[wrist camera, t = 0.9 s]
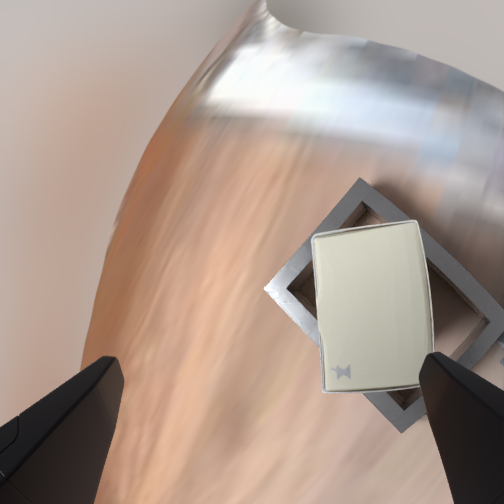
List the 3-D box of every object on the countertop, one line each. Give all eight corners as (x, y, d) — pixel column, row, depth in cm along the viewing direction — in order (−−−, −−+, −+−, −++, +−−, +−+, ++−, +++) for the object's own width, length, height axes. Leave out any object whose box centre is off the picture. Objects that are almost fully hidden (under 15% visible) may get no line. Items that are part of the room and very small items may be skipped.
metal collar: (502, 317, 17) (512, 319, 15) (402, 420, 19) (401, 433, 17) (364, 188, 23) (359, 177, 21) (277, 289, 25) (263, 288, 23)
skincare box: (422, 346, 20) (436, 395, 9) (364, 352, 22) (319, 403, 11) (414, 256, 21) (421, 214, 10) (356, 264, 23) (307, 233, 12)
